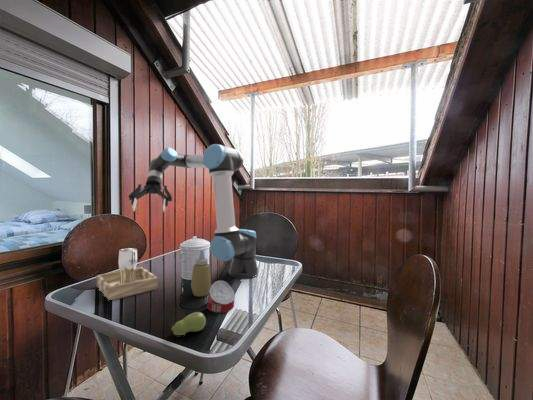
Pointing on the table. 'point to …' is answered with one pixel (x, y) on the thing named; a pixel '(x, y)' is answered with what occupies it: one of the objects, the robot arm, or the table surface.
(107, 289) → the crate
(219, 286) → the canned food
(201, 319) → the pear
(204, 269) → the squeeze bottle
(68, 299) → the table surface
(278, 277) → the table surface
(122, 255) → the beer glass
